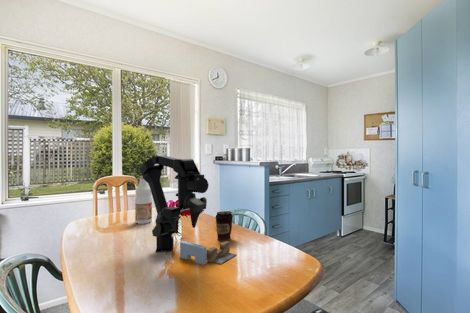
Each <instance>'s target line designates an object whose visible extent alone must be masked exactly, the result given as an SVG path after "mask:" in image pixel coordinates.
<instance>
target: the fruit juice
mask: <svg viewBox="0 0 470 313" xmlns="http://www.w3.org/2000/svg"><path fill="white" fill-rule="evenodd" d="M138 178H139V179H138V180H139V182H138V184H137V187H136V188H135V196H136V197H135V200H134V201H135V202H134V204H135V205H134V209H135V210H134V214H135V216H134V219H135V220H134V221H135V224H136V223H138V224H137V225H145V224H144V223H148V224H150V223H152V222H153V213H152V212H153V210H152V208H153V207H152V205H153V204H152V203H153V202H152V201H153V200H152V199H153V197H152V193H151V190H150V186H149V183H147V182H146V181H145V180H144V179H143V176H142V175H141V176H139V177H138ZM149 222H150V223H149Z"/></svg>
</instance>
